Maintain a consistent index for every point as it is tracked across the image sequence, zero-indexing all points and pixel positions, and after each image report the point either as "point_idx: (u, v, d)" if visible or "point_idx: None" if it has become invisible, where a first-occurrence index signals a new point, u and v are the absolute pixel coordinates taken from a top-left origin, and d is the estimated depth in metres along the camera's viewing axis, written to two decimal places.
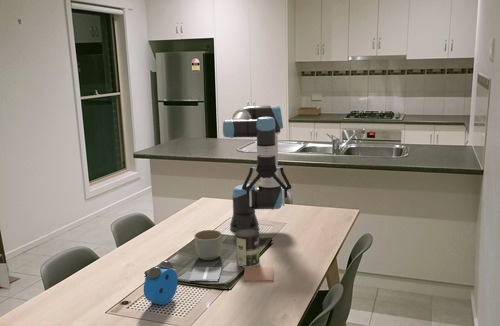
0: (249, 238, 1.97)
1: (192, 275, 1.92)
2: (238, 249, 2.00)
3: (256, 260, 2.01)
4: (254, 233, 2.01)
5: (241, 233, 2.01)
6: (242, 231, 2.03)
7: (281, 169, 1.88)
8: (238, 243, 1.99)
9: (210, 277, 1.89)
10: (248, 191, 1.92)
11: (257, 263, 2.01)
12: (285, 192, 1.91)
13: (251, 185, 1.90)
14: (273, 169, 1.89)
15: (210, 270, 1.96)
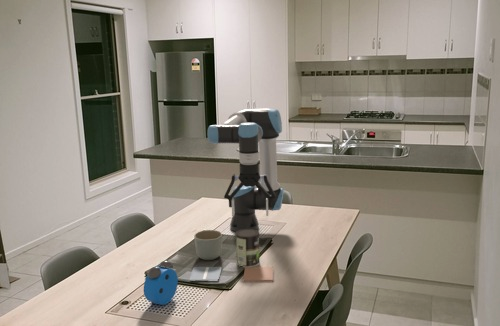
0: (249, 238, 1.97)
1: (192, 275, 1.92)
2: (238, 249, 2.00)
3: (256, 260, 2.01)
4: (254, 233, 2.01)
5: (241, 233, 2.01)
6: (242, 231, 2.03)
7: (264, 177, 1.80)
8: (238, 243, 1.99)
9: (210, 277, 1.89)
10: (230, 200, 1.83)
11: (257, 263, 2.01)
12: (269, 201, 1.82)
13: (233, 194, 1.82)
14: (256, 177, 1.80)
15: (210, 270, 1.96)
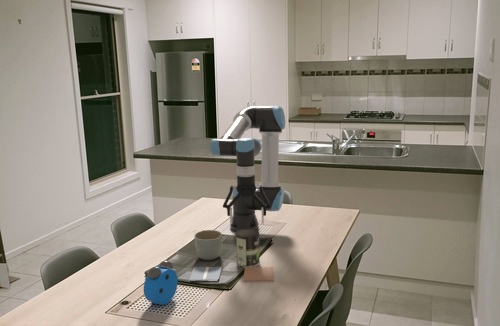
0: (249, 238, 1.97)
1: (192, 275, 1.92)
2: (238, 249, 2.00)
3: (256, 260, 2.01)
4: (254, 233, 2.01)
5: (241, 233, 2.01)
6: (242, 231, 2.03)
7: (260, 188, 1.96)
8: (238, 243, 1.99)
9: (210, 277, 1.89)
10: (229, 209, 1.99)
11: (257, 263, 2.01)
12: (264, 210, 1.98)
13: (231, 203, 1.98)
14: (252, 188, 1.96)
15: (210, 270, 1.96)
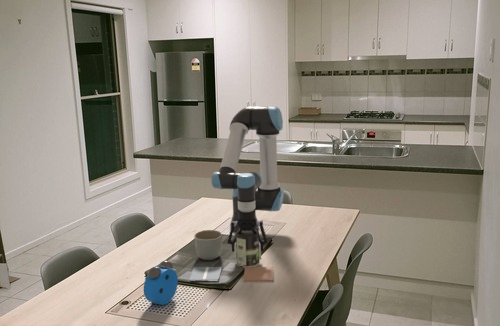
0: (249, 238, 1.97)
1: (192, 275, 1.92)
2: (238, 249, 2.00)
3: (256, 260, 2.01)
4: None
5: (241, 233, 2.01)
6: (242, 231, 2.03)
7: (261, 224, 1.99)
8: (238, 243, 1.99)
9: (210, 277, 1.89)
10: (233, 245, 2.02)
11: (257, 263, 2.01)
12: (261, 246, 2.02)
13: (235, 239, 2.01)
14: (253, 222, 1.99)
15: (210, 270, 1.96)
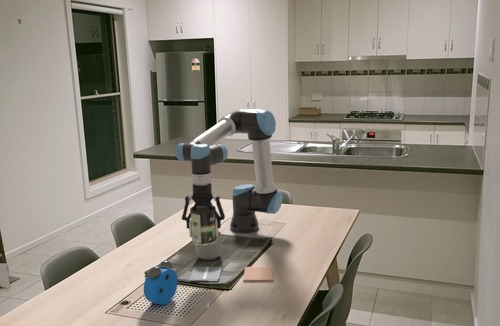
0: (204, 214, 1.83)
1: (192, 275, 1.92)
2: (193, 226, 1.86)
3: (212, 238, 1.86)
4: (210, 209, 1.87)
5: (196, 208, 1.87)
6: (198, 207, 1.89)
7: (217, 198, 1.85)
8: (192, 219, 1.85)
9: (210, 277, 1.89)
10: (188, 221, 1.88)
11: (213, 241, 1.87)
12: (218, 223, 1.88)
13: (190, 215, 1.87)
14: (209, 197, 1.85)
15: (210, 270, 1.96)
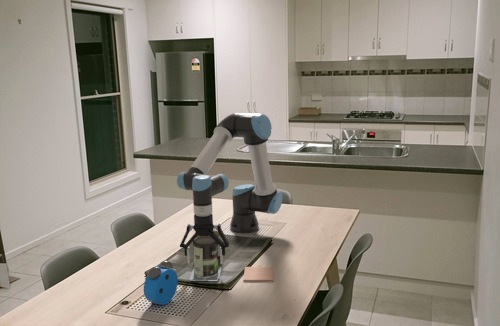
0: (207, 248, 1.86)
1: (192, 275, 1.92)
2: (195, 258, 1.89)
3: (214, 270, 1.89)
4: (212, 242, 1.90)
5: (198, 241, 1.90)
6: (200, 240, 1.92)
7: (218, 228, 1.88)
8: (195, 252, 1.88)
9: None
10: (186, 249, 1.91)
11: (215, 274, 1.90)
12: (223, 250, 1.90)
13: (188, 243, 1.90)
14: (210, 227, 1.88)
15: None
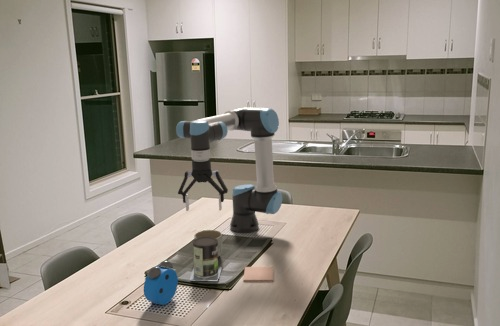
0: (206, 248, 1.86)
1: (192, 275, 1.92)
2: (195, 258, 1.89)
3: (214, 270, 1.89)
4: (212, 242, 1.90)
5: (198, 241, 1.90)
6: (200, 240, 1.92)
7: (216, 173, 1.87)
8: (195, 252, 1.88)
9: None
10: (184, 196, 1.90)
11: (215, 274, 1.90)
12: (221, 196, 1.89)
13: (187, 190, 1.89)
14: (208, 173, 1.87)
15: None
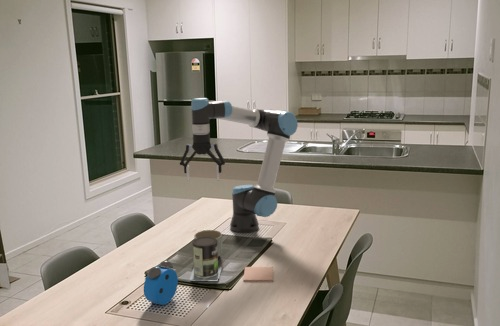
0: (206, 248, 1.86)
1: (192, 275, 1.92)
2: (195, 259, 1.89)
3: (214, 270, 1.89)
4: (212, 242, 1.90)
5: (198, 241, 1.90)
6: (200, 240, 1.92)
7: (215, 146, 2.05)
8: (194, 252, 1.88)
9: None
10: (185, 167, 2.08)
11: (215, 273, 1.90)
12: (219, 167, 2.07)
13: (188, 161, 2.07)
14: (207, 146, 2.05)
15: None
